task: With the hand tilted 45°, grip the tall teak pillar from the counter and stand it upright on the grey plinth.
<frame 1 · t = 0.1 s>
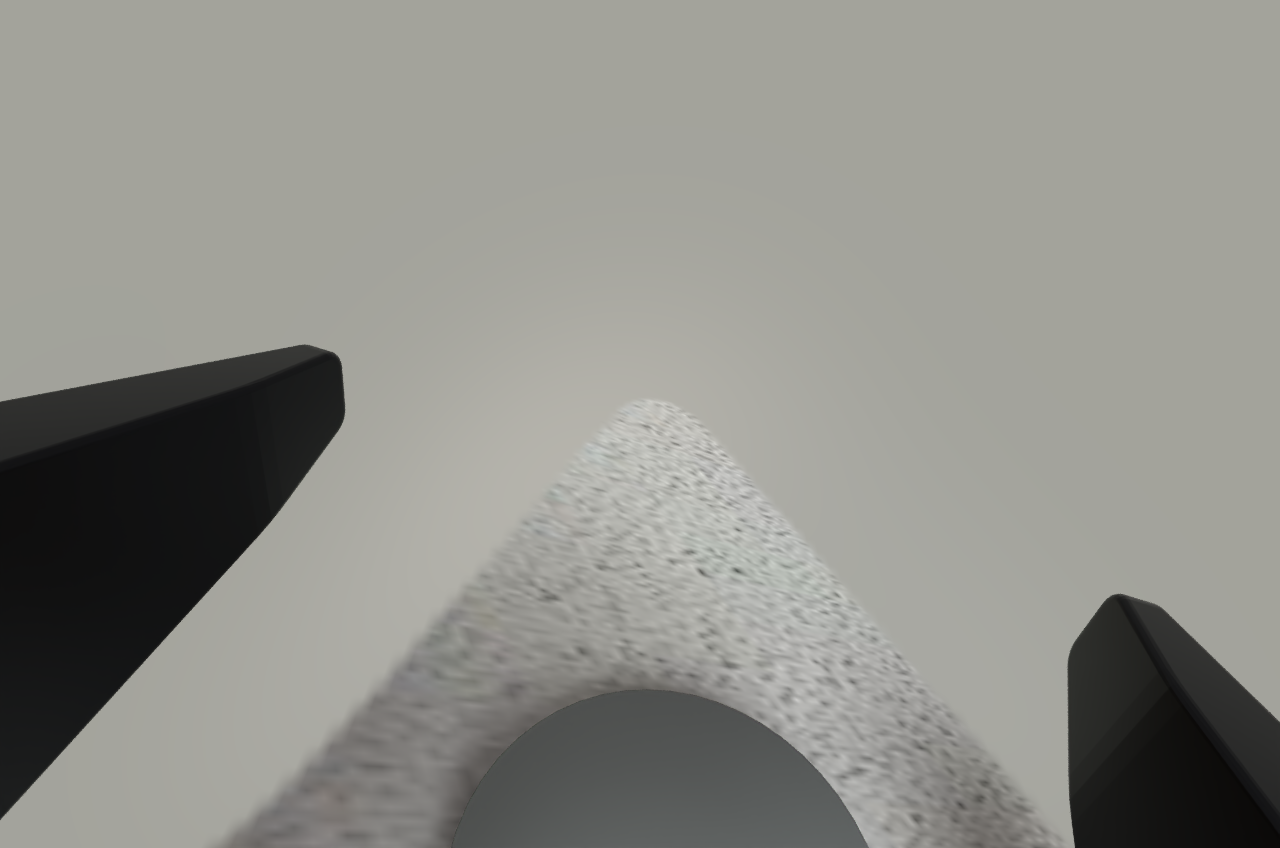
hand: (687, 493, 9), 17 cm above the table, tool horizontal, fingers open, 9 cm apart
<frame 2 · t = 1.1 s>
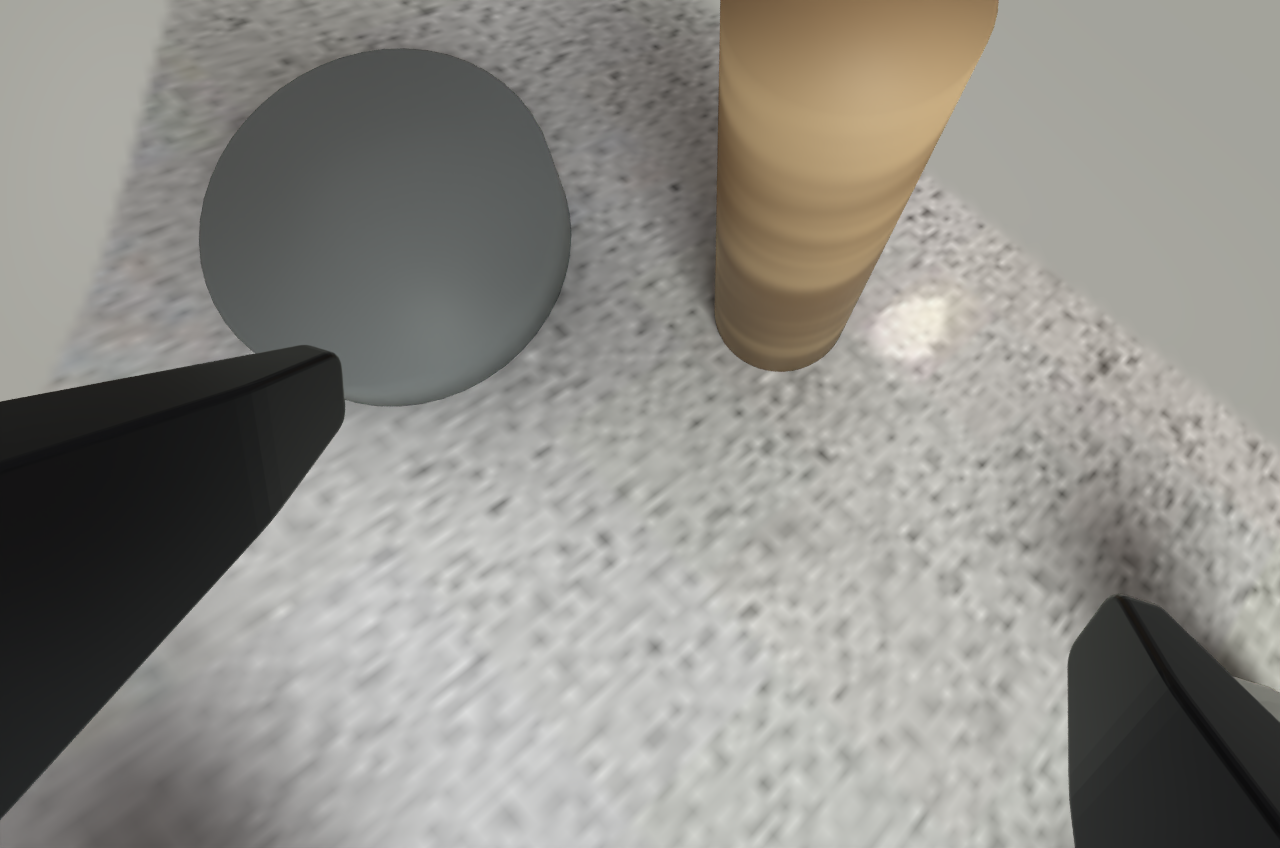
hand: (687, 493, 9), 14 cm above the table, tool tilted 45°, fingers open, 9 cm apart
grey plinth: (407, 245, 25), on the table
teak pillar: (779, 309, 23), on the table
rook chess piece: (1198, 756, 20), on the table
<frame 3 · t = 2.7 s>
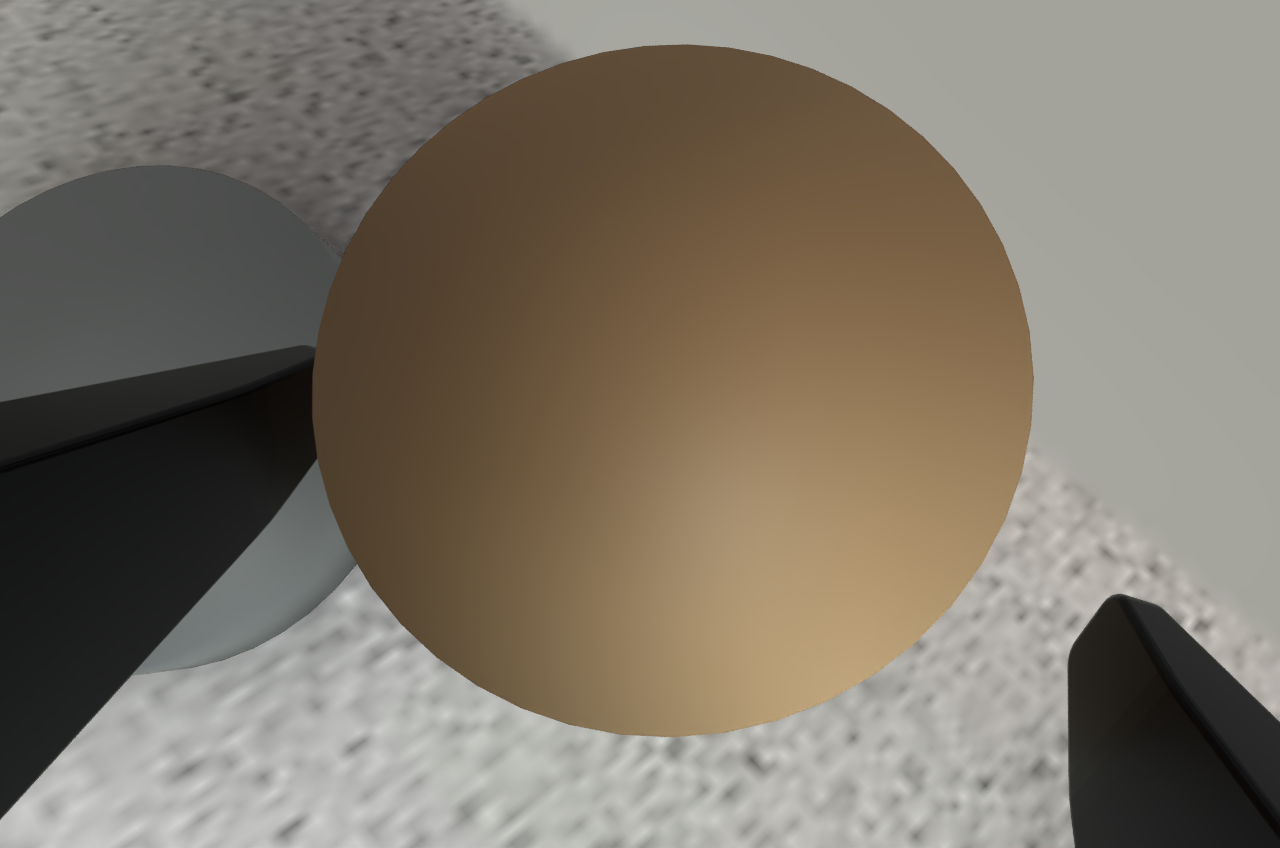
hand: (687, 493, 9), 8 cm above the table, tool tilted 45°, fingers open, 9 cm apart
grey plinth: (187, 429, 18), on the table
teak pillar: (695, 535, 16), on the table
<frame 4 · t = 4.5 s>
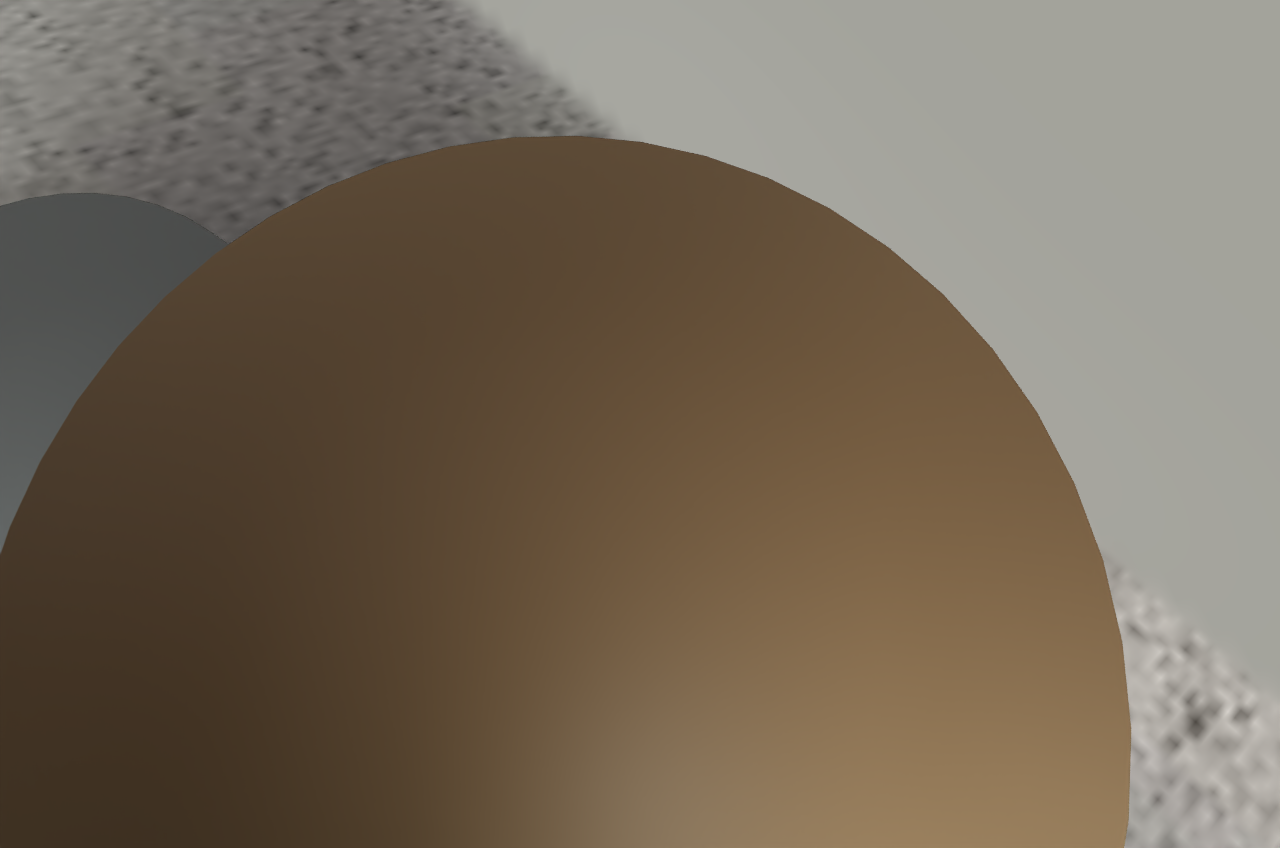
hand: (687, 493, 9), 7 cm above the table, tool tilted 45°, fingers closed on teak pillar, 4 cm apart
grey plinth: (122, 480, 16), on the table
teak pillar: (676, 604, 15), on the table, touching gripper
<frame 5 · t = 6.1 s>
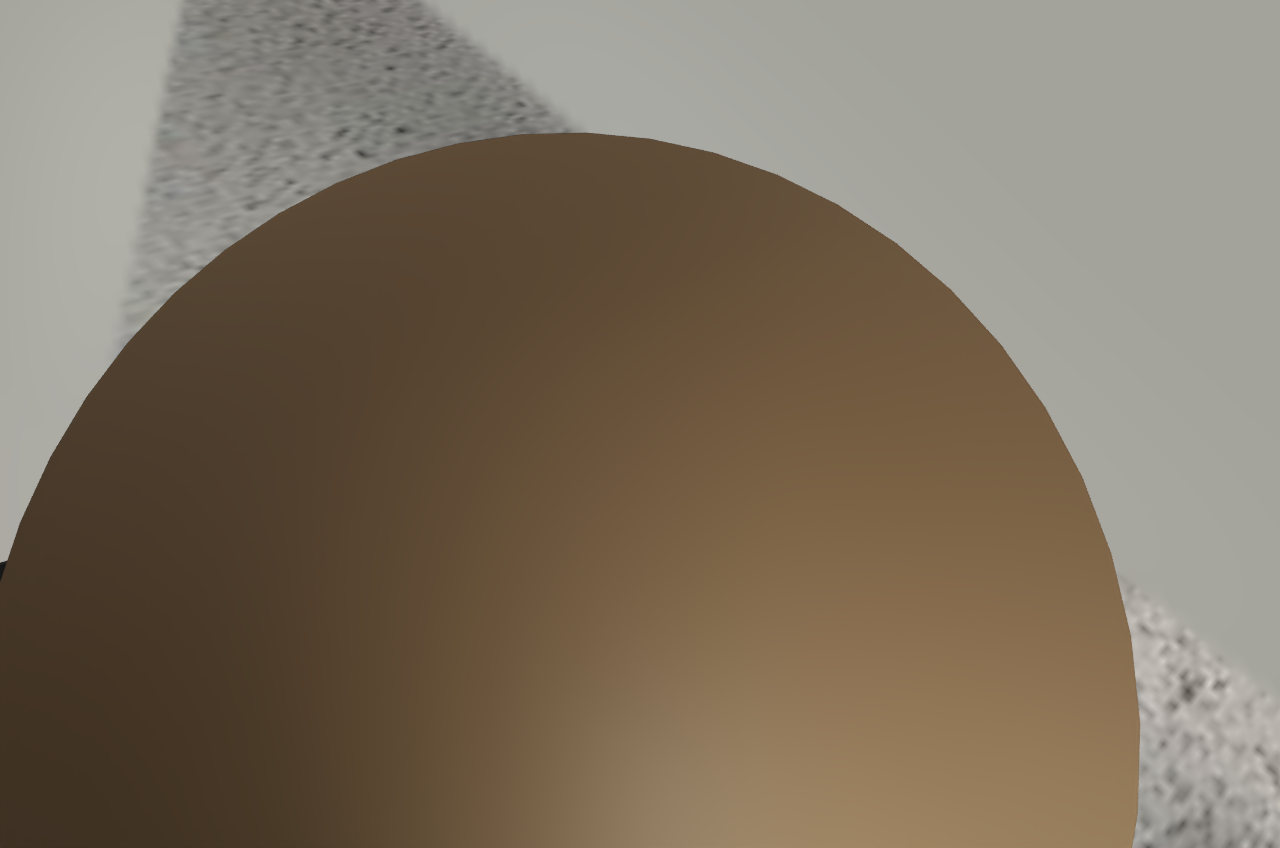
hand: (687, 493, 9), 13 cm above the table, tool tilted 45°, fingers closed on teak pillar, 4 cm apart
teak pillar: (678, 604, 15), point 7 cm above the table, touching gripper
when the fingers open (11 cm above the table, at t = 8.1 s): teak pillar drops 1 cm, resting on grey plinth.
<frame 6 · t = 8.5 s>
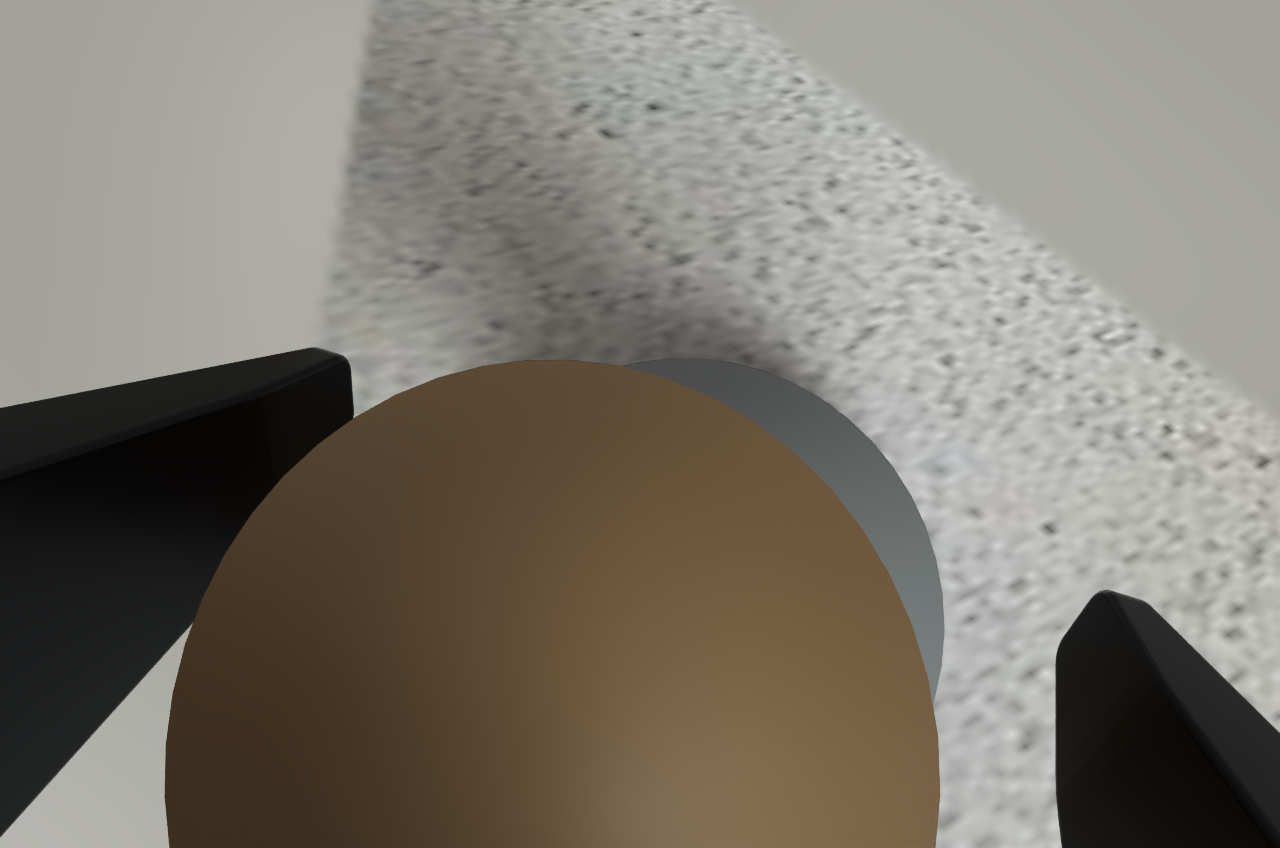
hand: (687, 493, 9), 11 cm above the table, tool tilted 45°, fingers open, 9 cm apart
grey plinth: (683, 601, 19), on the table
teak pillar: (679, 604, 16), point 3 cm above the table, touching grey plinth
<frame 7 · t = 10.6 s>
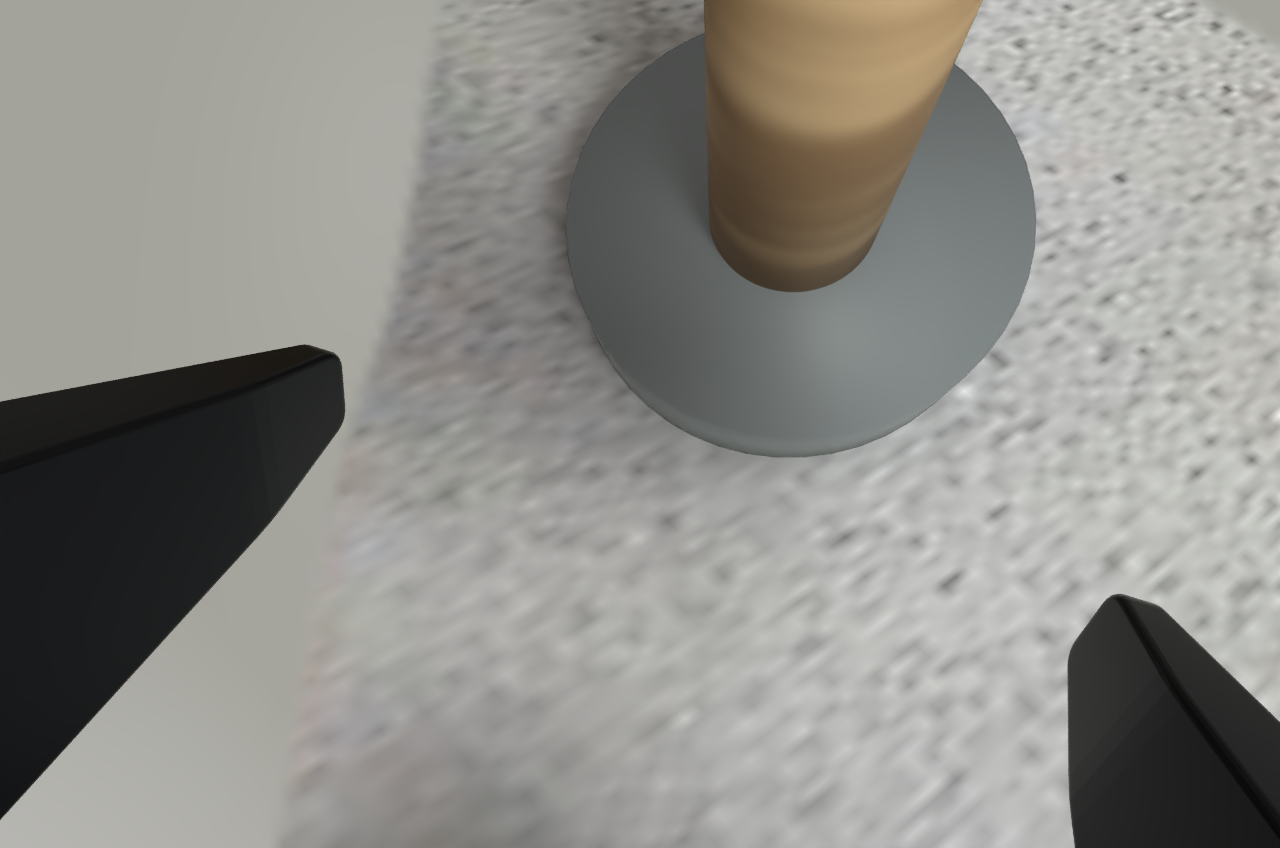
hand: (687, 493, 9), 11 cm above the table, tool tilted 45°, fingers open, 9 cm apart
grey plinth: (784, 257, 20), on the table
teak pillar: (793, 213, 18), point 3 cm above the table, touching grey plinth
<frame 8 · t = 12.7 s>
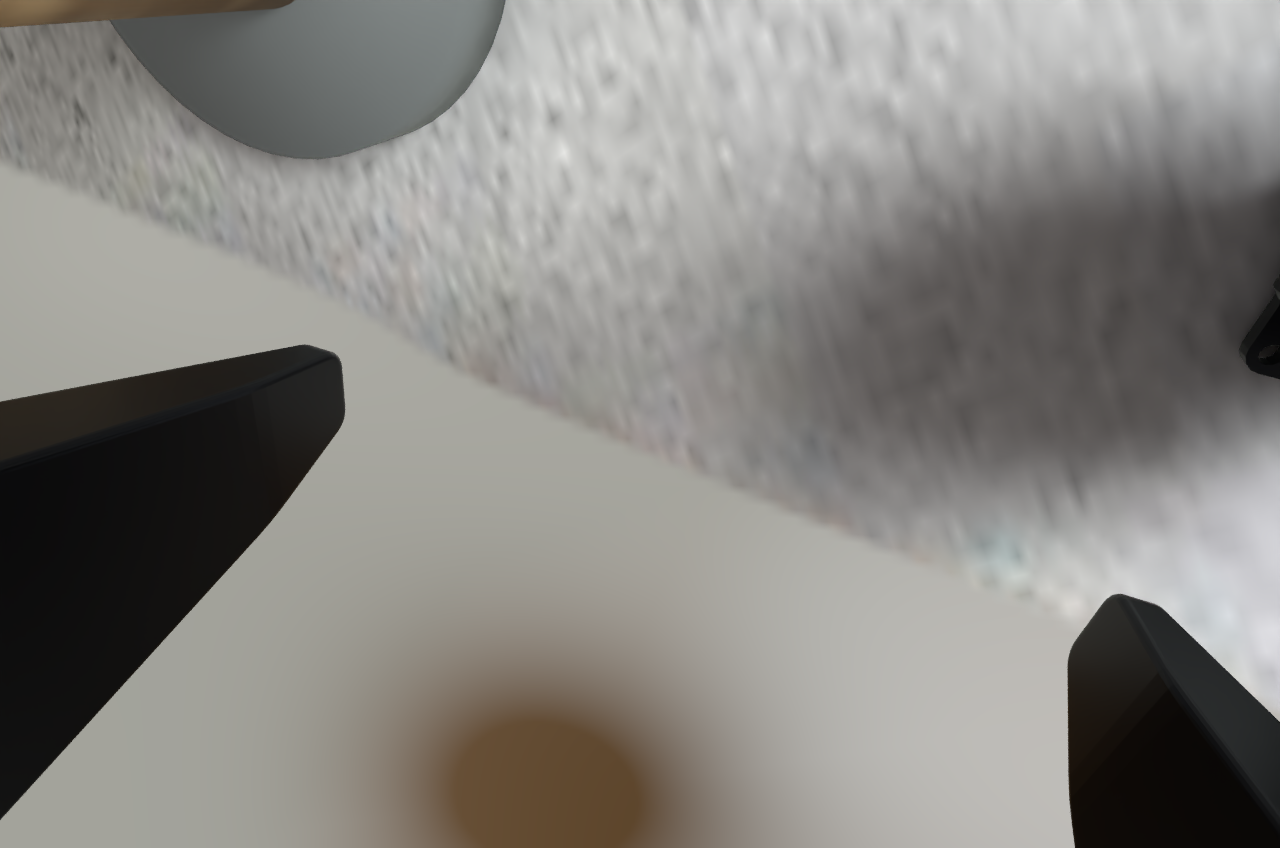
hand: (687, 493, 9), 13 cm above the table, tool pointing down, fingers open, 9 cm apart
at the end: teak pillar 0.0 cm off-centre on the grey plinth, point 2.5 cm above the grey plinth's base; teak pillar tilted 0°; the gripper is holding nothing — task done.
